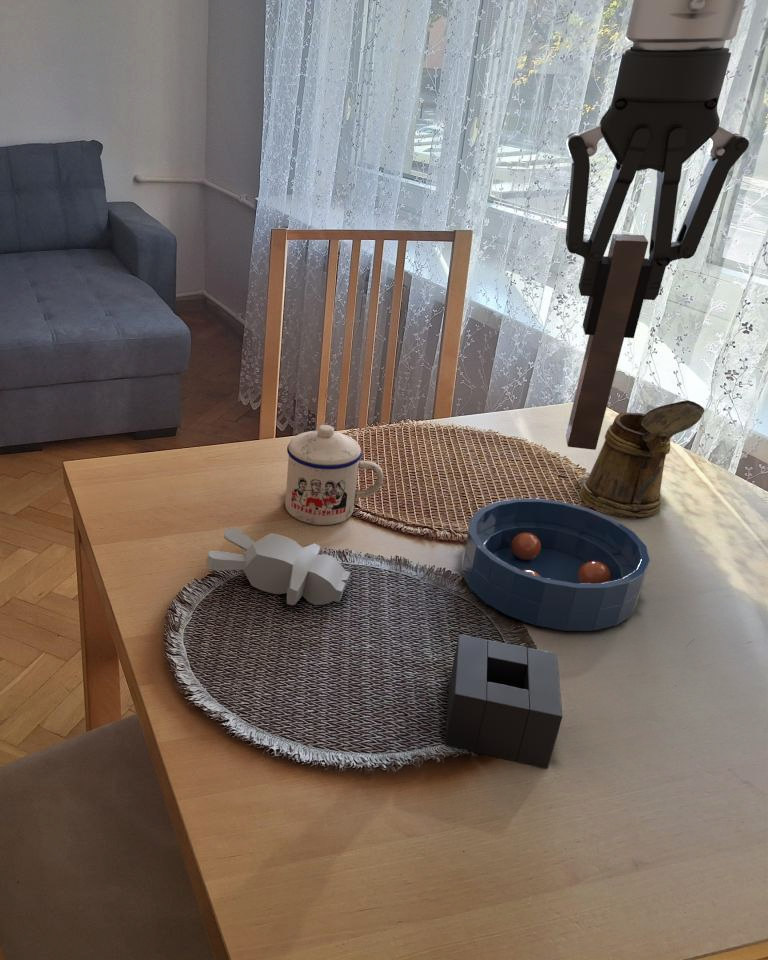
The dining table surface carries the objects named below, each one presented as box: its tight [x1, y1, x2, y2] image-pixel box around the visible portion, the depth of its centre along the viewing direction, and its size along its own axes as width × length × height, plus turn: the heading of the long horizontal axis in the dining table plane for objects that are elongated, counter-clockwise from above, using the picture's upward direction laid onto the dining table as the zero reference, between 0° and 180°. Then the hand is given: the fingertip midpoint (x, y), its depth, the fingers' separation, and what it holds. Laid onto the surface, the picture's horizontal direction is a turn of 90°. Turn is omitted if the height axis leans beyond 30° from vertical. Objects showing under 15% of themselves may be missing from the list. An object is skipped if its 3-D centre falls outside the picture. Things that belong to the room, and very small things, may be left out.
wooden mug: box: [578, 399, 706, 519], centre depth 104 cm, size 9×14×18 cm, turn 172°
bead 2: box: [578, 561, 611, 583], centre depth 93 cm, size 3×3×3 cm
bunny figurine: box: [205, 526, 351, 606], centre depth 96 cm, size 10×5×15 cm
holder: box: [444, 634, 564, 769], centre depth 76 cm, size 8×8×6 cm
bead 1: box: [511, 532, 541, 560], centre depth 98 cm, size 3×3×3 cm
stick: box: [565, 233, 649, 451], centre depth 80 cm, size 2×2×20 cm
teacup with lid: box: [284, 424, 384, 526], centre depth 108 cm, size 12×9×12 cm
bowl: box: [461, 497, 651, 632], centre depth 94 cm, size 18×18×6 cm
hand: (607, 331), depth 79 cm, fingers closed on stick, 2 cm apart
